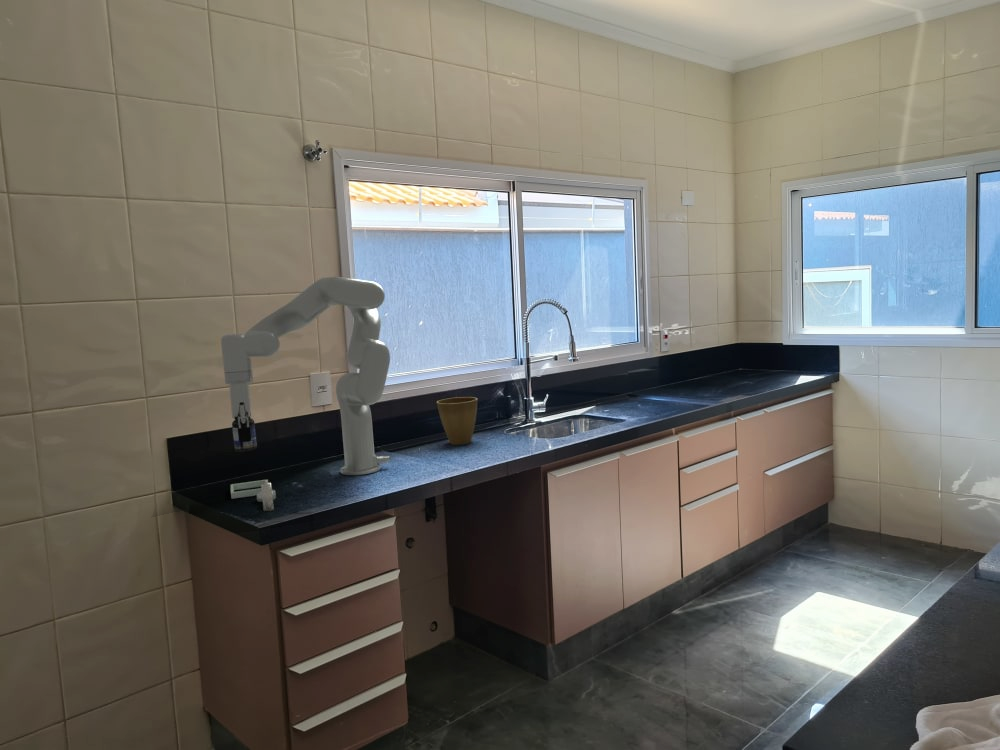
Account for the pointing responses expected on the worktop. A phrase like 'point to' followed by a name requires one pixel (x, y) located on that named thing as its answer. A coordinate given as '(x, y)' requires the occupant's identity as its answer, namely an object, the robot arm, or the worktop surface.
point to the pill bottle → (238, 445)
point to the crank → (266, 496)
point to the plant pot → (458, 418)
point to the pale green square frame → (244, 486)
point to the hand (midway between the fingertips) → (245, 438)
